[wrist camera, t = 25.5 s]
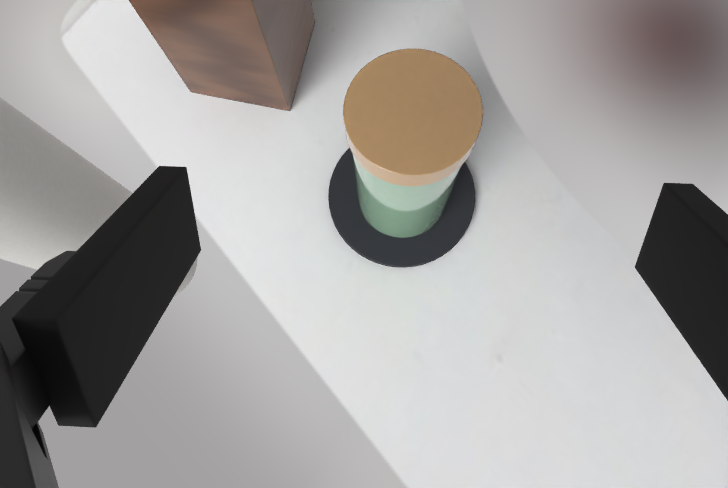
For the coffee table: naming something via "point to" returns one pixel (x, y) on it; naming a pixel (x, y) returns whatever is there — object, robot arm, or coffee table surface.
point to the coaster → (394, 248)
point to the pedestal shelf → (234, 45)
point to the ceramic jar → (409, 136)
